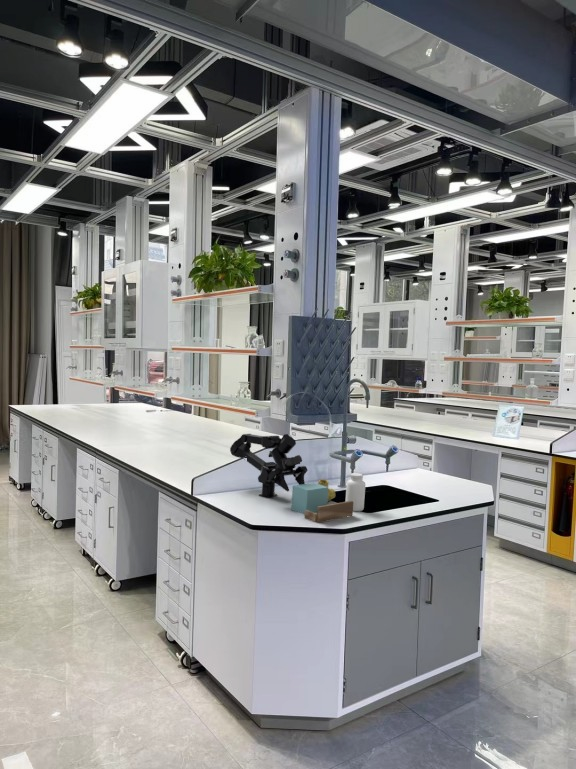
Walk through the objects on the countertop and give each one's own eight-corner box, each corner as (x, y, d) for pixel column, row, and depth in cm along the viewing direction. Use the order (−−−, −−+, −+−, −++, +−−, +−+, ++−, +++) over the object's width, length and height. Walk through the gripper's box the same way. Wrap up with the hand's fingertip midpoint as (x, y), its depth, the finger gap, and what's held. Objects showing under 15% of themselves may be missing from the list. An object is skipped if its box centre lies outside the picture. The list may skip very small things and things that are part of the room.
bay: (304, 518, 223) (305, 502, 223) (339, 511, 237) (340, 497, 237) (317, 522, 218) (318, 507, 217) (353, 515, 231) (354, 501, 231)
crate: (291, 509, 236) (292, 485, 235) (311, 505, 244) (313, 482, 243) (306, 514, 229) (307, 490, 228) (326, 510, 237) (328, 487, 236)
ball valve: (335, 503, 254) (321, 495, 262) (338, 481, 252) (324, 473, 260) (313, 507, 246) (299, 499, 254) (315, 485, 244) (301, 477, 252)
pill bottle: (349, 511, 237) (351, 476, 237) (342, 506, 245) (344, 472, 244) (366, 511, 240) (369, 476, 239) (359, 506, 247) (361, 472, 247)
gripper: (274, 450, 239) (289, 481, 232) (306, 447, 252) (322, 477, 244) (261, 465, 246) (276, 496, 238) (293, 462, 258) (308, 491, 250)
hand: (296, 489), depth 242 cm, fingers open, 9 cm apart
